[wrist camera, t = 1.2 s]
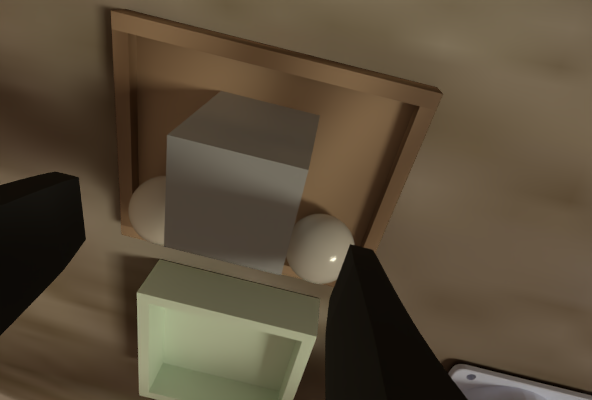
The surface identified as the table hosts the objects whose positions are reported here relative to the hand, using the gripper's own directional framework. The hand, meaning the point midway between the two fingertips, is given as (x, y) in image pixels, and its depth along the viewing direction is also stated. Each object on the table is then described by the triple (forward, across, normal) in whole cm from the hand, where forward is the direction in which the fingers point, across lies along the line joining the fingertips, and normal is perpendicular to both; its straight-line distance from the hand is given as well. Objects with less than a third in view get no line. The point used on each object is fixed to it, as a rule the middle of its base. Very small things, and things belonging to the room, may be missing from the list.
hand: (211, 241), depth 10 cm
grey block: (+7, 0, 0) cm, 7 cm away
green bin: (+7, 0, +13) cm, 14 cm away
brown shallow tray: (+7, 0, +1) cm, 7 cm away
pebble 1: (+7, +3, +3) cm, 8 cm away
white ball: (+6, -4, +3) cm, 8 cm away
